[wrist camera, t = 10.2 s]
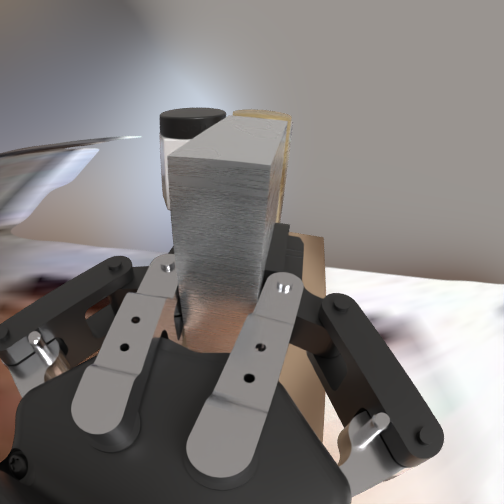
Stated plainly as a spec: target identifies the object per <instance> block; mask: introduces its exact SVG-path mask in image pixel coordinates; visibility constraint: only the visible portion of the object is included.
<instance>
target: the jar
mask: <svg viewBox="0 0 504 504" xmlns="http://www.w3.org/2000/svg"><path fill="white" fill-rule="evenodd" d="M224 118H226V112H225V111H223V110H220V109H213V108H182V109H174V110H169V111H165V112H163V113H161V114H160V158H161V175H162V190H163V197H164V200H165V203H166V206H167V209H168V210H170V197H169V182H168V163H167V156H168V155H169V154H171V153H172V152H174V151H175V150H177V149H178V148H179V147H181V146H182V145H184V144H185V143H187V142H188V141H190V140H191V139H193V138H194V137H196V136H197V135H199V134H200V133H202V132H204V131H205V130H207V129H208V128H210V127H211V126H213V125H215V124H216V123H218V122H219V121H221V120H223V119H224Z"/></svg>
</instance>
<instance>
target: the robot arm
mask: <svg viewBox="0 0 504 504" xmlns="http://www.w3.org/2000/svg"><path fill="white" fill-rule="evenodd" d="M289 228H290V225H288V224H282V223H276V222H275V225H274V230H273V234H272V239H271V243H270V248H269V252H268V257H267V261H266V265H265V270H264V279H263V287H262V292H261V295H260V297H259V299H258V302H257V304H256V306H255V309H254V311H253V313H249V314H248V316H247V318H246V320H245V322H244V324H243V327H242V329H241V331H240V333H239V336H238V338H237V340H236V342H235V345H234V347H233V349H232V351H231V353H198V352H194V351H192V350H190V349H188V348H186V347H184V346H182V342H183V338H184V334H185V329H184V323H183V316H182V309H181V302H180V295H179V288H178V280H177V271H176V263H175V254H174V246H173V248H172V249H171V250H170V252H169V253H168V254H164V255H160V256H158V257H156V258H155V259H154V260H153V261H152V262H151V264H150V266H144V267H132V262H131V260H130V259H129V258H127V257H124V256H114V257H111V258H109V259H107V260H105V261H103V262H101V263H99V264H98V265H96V266H94V267H92V268H91V269H89V270H87V271H85V272H84V273H82V274H80V275H78V276H77V277H75V278H73V279H72V280H70V281H68V282H67V283H65V284H63V285H62V286H60V287H58V288H57V289H55V290H53V291H52V292H50V293H48V294H47V295H45V296H43V297H42V298H40V299H39V300H37V301H35V302H34V303H32V304H31V305H29V306H28V307H26V308H24V309H23V310H21V311H20V312H18V313H17V314H15V315H14V316H12V317H11V318H9V319H7V320H6V321H4V322H3V323H1V324H0V358H1V360H2V362H3V363H4V365H5V366H6V367H7V368H8V370H9V371H10V373H11V375H12V377H13V379H14V382H15V384H16V386H17V388H18V390H19V392H20V394H21V396H22V399H21V401H20V403H19V405H18V408H17V411H16V419H15V435H14V441H13V445H12V449H11V452H10V453H9V455H8V456H7V458H6V459H5V460H3V461H2V462H1V463H0V504H351V497H354V496H356V495H358V494H360V493H362V492H364V491H366V490H368V489H369V488H371V487H373V486H375V485H377V484H379V483H381V482H382V481H388V480H390V479H392V478H394V477H397V476H399V475H401V474H403V473H405V472H406V471H408V470H410V469H412V468H414V467H416V466H418V465H420V464H421V463H423V462H425V461H427V460H428V459H430V458H432V457H433V456H435V455H436V454H437V453H438V452H439V451H440V450H441V448H442V446H443V443H444V433H443V430H442V428H441V426H440V424H439V423H438V421H437V419H436V418H435V416H434V415H433V413H432V412H431V410H430V408H429V407H428V405H427V404H426V402H425V401H424V399H423V398H422V396H421V394H420V393H419V391H418V390H417V388H416V387H415V385H414V384H413V382H412V381H411V379H410V378H409V376H408V375H407V373H406V372H405V370H404V369H403V367H402V366H401V365H400V363H399V362H398V360H397V359H396V357H395V356H394V354H393V353H392V351H391V350H390V349H389V347H388V346H387V344H386V343H385V341H384V340H383V339H382V337H381V336H380V334H379V333H378V332H377V330H376V329H375V327H374V326H373V325H372V323H371V322H370V321H369V319H368V318H367V316H366V315H365V314H364V312H363V311H362V310H361V308H360V307H359V305H358V304H357V303H356V302H355V300H353V299H352V298H351V297H349V296H347V295H344V294H341V293H332V294H329V295H327V296H325V297H324V299H323V298H320V297H318V296H316V295H313V294H312V293H310V292H309V291H308V290H307V289H306V288H305V287H304V285H303V282H302V274H303V256H304V243H303V241H302V240H301V238H300V237H296V236H290V235H289ZM107 296H108V298H109V301H110V304H109V305H108V306H106V307H104V308H103V309H101V310H100V311H98V312H97V313H95V314H94V315H92V316H91V317H89V318H88V319H85V313H86V311H87V310H88V309H89V308H90V307H91V306H93V305H95V304H96V303H98V302H99V301H101V300H102V299H104V298H106V297H107ZM289 343H290V344H292V345H294V346H296V347H299V348H301V349H303V350H306V353H307V356H308V358H309V360H310V362H311V364H312V366H313V368H314V370H315V372H316V374H317V376H318V378H319V380H320V382H321V384H322V386H323V388H324V389H325V391H326V393H327V395H328V397H329V399H330V401H331V403H332V405H333V407H334V409H335V411H336V413H337V415H338V417H339V419H340V421H341V422H342V424H343V426H344V429H343V430H342V431H341V433H340V434H339V436H338V442H337V444H338V448H339V452H340V460H339V463H338V465H337V463H336V462H335V461H334V459H333V458H332V456H331V455H330V454H329V452H328V451H327V449H326V448H325V447H324V445H323V444H322V442H321V441H320V439H319V438H318V436H317V435H316V434H315V432H314V431H313V429H312V428H311V426H310V425H309V423H308V422H307V420H306V419H305V418H304V416H303V415H302V413H301V412H300V410H299V409H298V407H297V406H296V404H295V403H294V401H293V400H292V398H291V397H290V395H289V393H288V392H287V390H286V389H285V388H284V386H283V385H282V384H281V383H280V382H279V378H280V374H281V371H282V368H283V364H284V361H285V357H286V354H287V350H288V347H289ZM100 348H101V349H100ZM99 349H100V351H99V353H98V355H96V356H95V357H93V358H91V359H89V360H87V361H85V362H83V363H81V364H79V363H80V362H82V361H83V360H85V359H86V358H88V357H89V356H90V355H92V354H93V353H95V352H96V351H97V350H99ZM78 364H79V365H78ZM76 365H77V366H76Z"/></svg>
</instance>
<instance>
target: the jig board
mask: <svg viewBox="0 0 504 504" xmlns="http://www.w3.org/2000/svg"><path fill="white" fill-rule="evenodd" d="M289 235H290V236H296V237H300V238H301V240H302V241H303V243H304V256H303V274H302V282H303V285H304V287H305V288H306V289H307V290H308V291H309V292H310V293H312V294H313V295H316V296H318V297H320V298H323V299H324V297H325V296H326V282H325V259H324V239H323V237H317V236H311V235H304V234H298V233H292V232H289ZM182 346H184V347H186V348H187V342H186V336H185V334H184V338H183V342H182ZM279 382H280V383H281V384H282V385H283V386H284V388H285V389H286V390H287V392H288V393H289V395H290V397H291V398H292V400H293V401H294V403H295V404H296V406H297V407H298V409H299V410H300V412H301V413H302V415H303V416H304V418H305V419H306V420H307V422H308V423H309V425H310V426H311V428H312V429H313V431H314V432H315V434H316V435H317V436H318V438H319V439H320V441H321V442H323V427H324V410H325V389H324V388H323V386H322V384H321V382H320V380H319V378H318V376H317V374H316V372H315V370H314V368H313V366H312V364H311V362H310V360H309V358H308V356H307V353H306V350H303V349H301V348H299V347H296V346H294V345H292V344H290V343H289V347H288V350H287V354H286V357H285V361H284V364H283V368H282V371H281V374H280V378H279Z"/></svg>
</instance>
